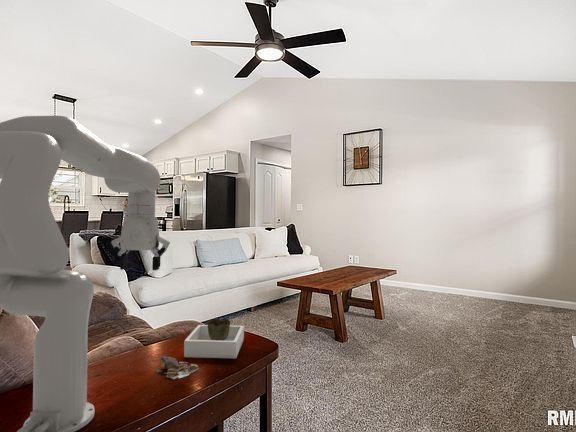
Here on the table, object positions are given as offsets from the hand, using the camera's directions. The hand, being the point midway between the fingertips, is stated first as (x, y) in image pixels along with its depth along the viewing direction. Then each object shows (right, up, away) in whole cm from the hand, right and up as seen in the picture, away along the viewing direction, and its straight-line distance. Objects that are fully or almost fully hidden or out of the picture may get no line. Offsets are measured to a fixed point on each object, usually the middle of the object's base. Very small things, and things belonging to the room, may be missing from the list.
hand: (139, 269), depth 106 cm
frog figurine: (+12, -28, -6) cm, 31 cm away
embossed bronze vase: (+21, -27, +11) cm, 36 cm away
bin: (+20, -27, +11) cm, 36 cm away
